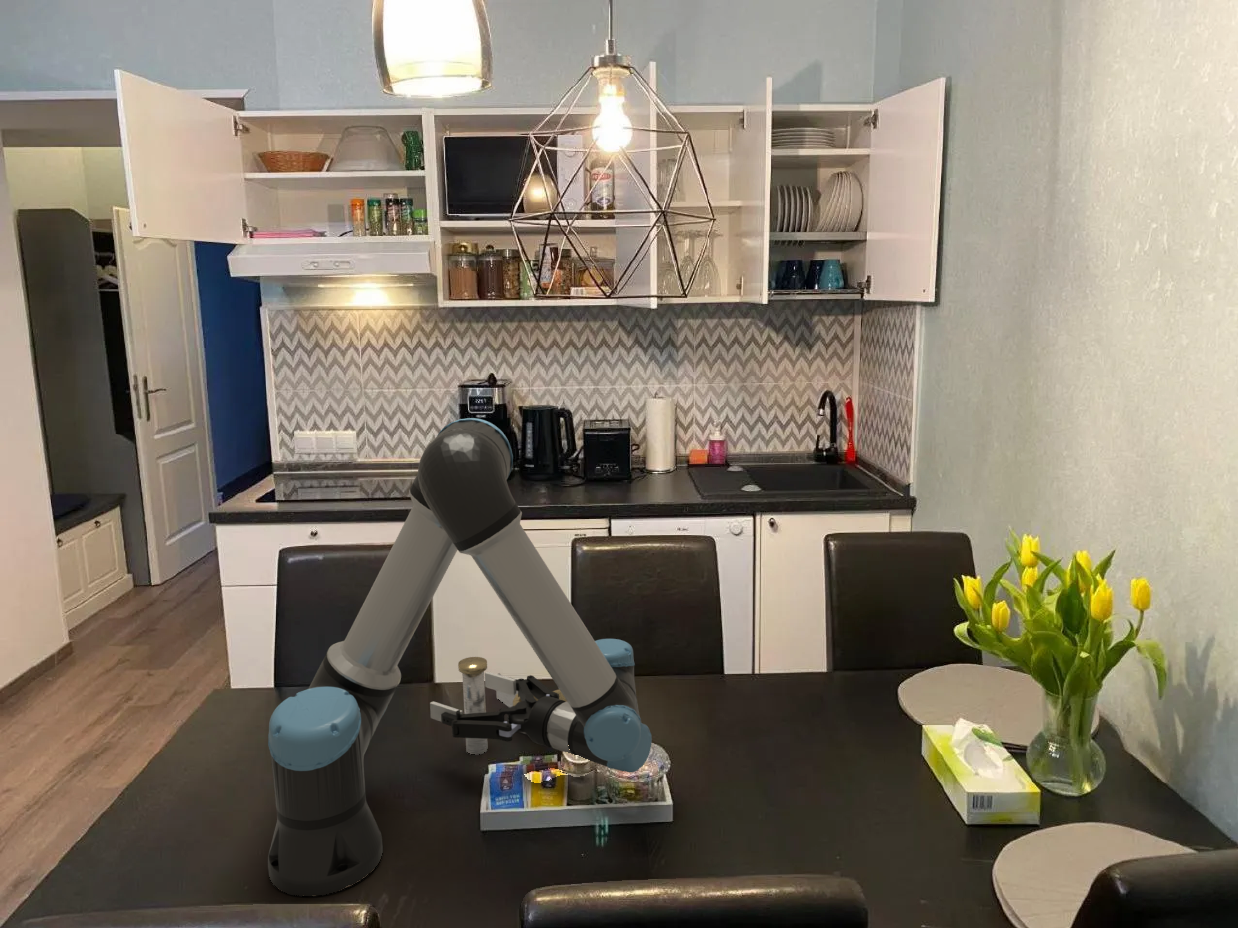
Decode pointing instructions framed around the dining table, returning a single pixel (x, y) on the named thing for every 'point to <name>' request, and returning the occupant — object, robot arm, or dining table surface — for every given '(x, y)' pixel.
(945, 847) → the dining table surface
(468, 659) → the hinge pin
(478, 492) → the robot arm
